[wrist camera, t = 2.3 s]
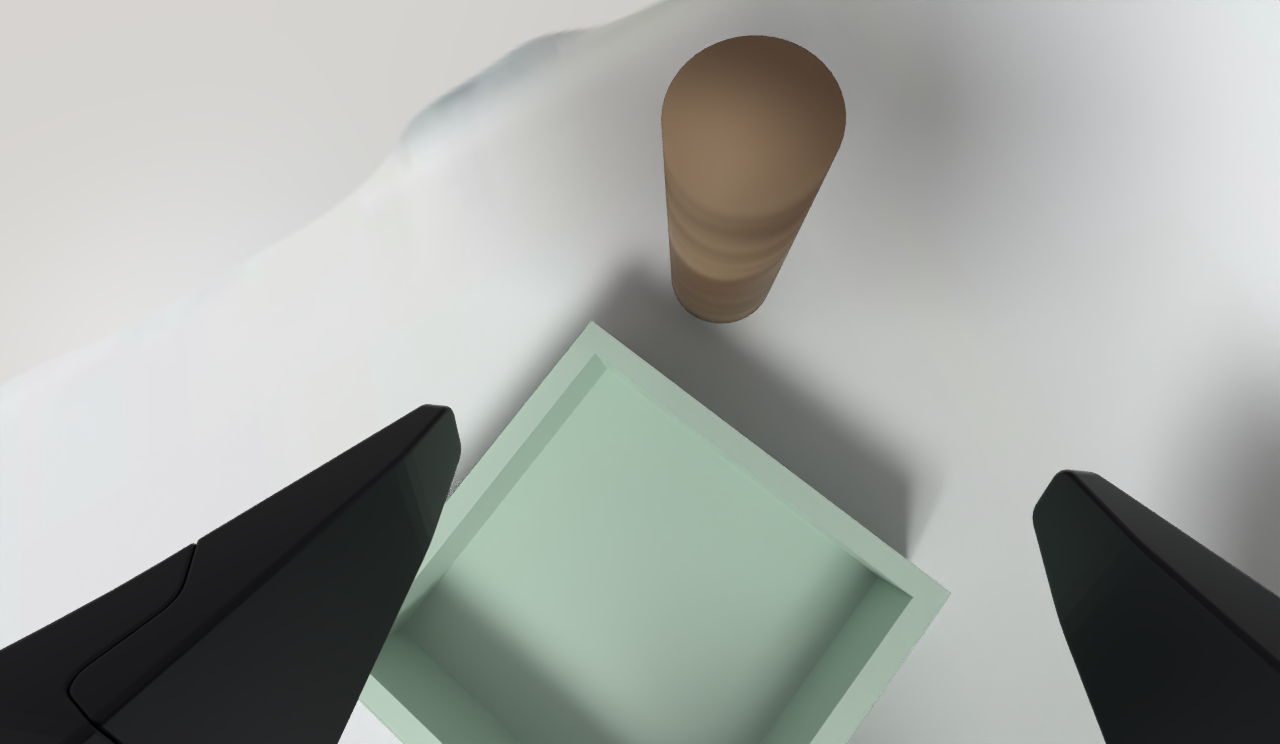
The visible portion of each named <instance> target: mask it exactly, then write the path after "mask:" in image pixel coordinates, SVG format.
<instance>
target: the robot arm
mask: <svg viewBox="0 0 1280 744" xmlns="http://www.w3.org/2000/svg"><path fill="white" fill-rule="evenodd" d="M460 454H461V443H460V439H459V434H458V430H457V425H456V421H455V417H454V413H453V411H452V409H451V408H450V407H448V406H442V405H432V404H425V405H422V406H420V407H418V408H417V409H415V410H413V411H412V412H410V413H408V414H407V415H405V416H403V417H402V418H400V419H398V420H397V421H395V422H393V423H392V424H390V425H388V426H387V427H385V428H383V429H382V430H380V431H378V432H377V433H375V434H373V435H372V436H370V437H368V438H367V439H365V440H363V441H362V442H360V443H358V444H357V445H355V446H353V447H352V448H350V449H348V450H347V451H345V452H343V453H342V454H340V455H338V456H337V457H335V458H333V459H332V460H330V461H328V462H327V463H325V464H323V465H322V466H320V467H318V468H317V469H315V470H313V471H312V472H310V473H309V474H307V475H305V476H304V477H302V478H300V479H299V480H297V481H295V482H294V483H292V484H290V485H289V486H287V487H285V488H284V489H282V490H280V491H279V492H277V493H275V494H274V495H272V496H270V497H269V498H267V499H265V500H264V501H262V502H260V503H259V504H257V505H255V506H254V507H252V508H250V509H249V510H247V511H245V512H244V513H242V514H240V515H239V516H237V517H235V518H234V519H232V520H230V521H229V522H227V523H225V524H224V525H222V526H220V527H219V528H217V529H215V530H214V531H212V532H210V533H209V534H207V535H205V536H204V537H202V538H200V539H199V540H198V542H197V544H194V543H193V544H190V545H188V546H187V547H185V548H183V549H182V550H180V551H178V552H177V553H175V554H173V555H172V556H170V557H168V558H167V559H165V560H163V561H162V562H160V563H158V564H157V565H155V566H153V567H151V568H150V569H148V570H146V571H144V572H143V573H141V574H139V575H138V576H136V577H134V578H132V579H131V580H129V581H127V582H125V583H124V584H122V585H120V586H119V587H117V588H115V589H113V590H112V591H110V592H108V593H106V594H104V595H102V596H101V597H99V598H97V599H95V600H93V601H91V602H90V603H88V604H86V605H84V606H82V607H80V608H79V609H77V610H75V611H73V612H71V613H69V614H67V615H66V616H64V617H62V618H60V619H58V620H56V621H55V622H53V623H51V624H49V625H47V626H45V627H43V628H41V629H39V630H38V631H36V632H34V633H32V634H30V635H28V636H26V637H24V638H22V639H20V640H19V641H17V642H15V643H13V644H11V645H9V646H7V647H5V648H3V649H2V650H0V744H338V741H339V739H340V737H341V735H342V733H343V731H344V729H345V727H346V724H347V722H348V720H349V718H350V716H351V714H352V712H353V709H354V707H355V705H356V703H357V701H358V699H359V697H360V694H361V692H362V690H363V688H364V686H365V684H366V682H367V680H368V677H369V675H370V673H371V671H372V669H373V667H374V665H375V662H376V660H377V658H378V656H379V654H380V652H381V650H382V647H383V645H384V643H385V641H386V639H387V637H388V635H389V633H390V630H391V628H392V626H393V624H394V622H395V620H396V618H397V615H398V613H399V611H400V609H401V607H402V605H403V603H404V601H405V598H406V596H407V594H408V592H409V590H410V588H411V586H412V583H413V581H414V579H415V577H416V575H417V573H418V571H419V568H420V566H421V564H422V562H423V560H424V558H425V555H426V553H427V551H428V549H429V546H430V544H431V541H432V539H433V536H434V533H435V530H436V528H437V525H438V522H439V519H440V516H441V513H442V510H443V507H444V504H445V501H446V498H447V495H448V492H449V489H450V486H451V483H452V480H453V477H454V474H455V471H456V468H457V465H458V462H459V459H460ZM1033 525H1034V529H1035V533H1036V537H1037V540H1038V544H1039V548H1040V552H1041V555H1042V559H1043V563H1044V567H1045V571H1046V574H1047V578H1048V582H1049V586H1050V589H1051V593H1052V597H1053V601H1054V605H1055V608H1056V611H1057V615H1058V618H1059V621H1060V624H1061V627H1062V630H1063V633H1064V636H1065V638H1066V641H1067V644H1068V646H1069V649H1070V652H1071V654H1072V657H1073V659H1074V662H1075V665H1076V667H1077V670H1078V672H1079V675H1080V678H1081V680H1082V683H1083V685H1084V688H1085V691H1086V693H1087V696H1088V698H1089V701H1090V703H1091V706H1092V709H1093V711H1094V714H1095V716H1096V719H1097V722H1098V724H1099V727H1100V729H1101V732H1102V735H1103V737H1104V740H1105V742H1106V744H1280V597H1278V596H1277V595H1276V594H1274V593H1273V592H1271V591H1270V590H1268V589H1267V588H1265V587H1264V586H1262V585H1261V584H1259V583H1258V582H1256V581H1255V580H1253V579H1252V578H1250V577H1249V576H1247V575H1246V574H1244V573H1243V572H1242V571H1240V570H1239V569H1237V568H1236V567H1234V566H1233V565H1231V564H1230V563H1228V562H1227V561H1225V560H1224V559H1222V558H1221V557H1219V556H1218V555H1216V554H1215V553H1213V552H1212V551H1210V550H1209V549H1208V548H1206V547H1205V546H1203V545H1202V544H1200V543H1199V542H1197V541H1196V540H1194V539H1193V538H1191V537H1190V536H1188V535H1187V534H1185V533H1184V532H1182V531H1181V530H1179V529H1178V528H1176V527H1175V526H1174V525H1172V524H1171V523H1169V522H1168V521H1166V520H1165V519H1163V518H1162V517H1160V516H1159V515H1157V514H1156V513H1154V512H1153V511H1151V510H1150V509H1148V508H1147V507H1145V506H1144V505H1143V504H1141V503H1140V502H1138V501H1137V500H1135V499H1134V498H1132V497H1131V496H1129V495H1128V494H1126V493H1125V492H1123V491H1122V490H1120V489H1119V488H1117V487H1116V486H1114V485H1113V484H1111V483H1110V482H1109V481H1107V480H1106V479H1104V478H1103V477H1101V476H1100V475H1098V474H1095V473H1092V472H1086V471H1076V470H1062V471H1060V472H1058V473H1057V474H1056V475H1055V476H1054V477H1053V479H1052V481H1051V482H1050V484H1049V485H1048V487H1047V488H1046V490H1045V491H1044V493H1043V494H1042V496H1041V497H1040V499H1039V501H1038V502H1037V504H1036V505H1035V507H1034V511H1033Z"/></svg>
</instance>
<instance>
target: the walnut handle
mask: <svg viewBox="0 0 1280 744" xmlns="http://www.w3.org/2000/svg"><path fill="white" fill-rule="evenodd" d="M661 125H662V140H663V155H664V170H665V185H666V201H667V216H668V231H669V246H670V261H671V276H672V285H673V289H674V292H675V294H676V296H677V298H678V300H679V302H680V303H681V304H682V306H683V307H684V308H685V309H686V310H687V311H689V312H690V313H691V314H693V315H694V316H696V317H698V318H700V319H702V320H705V321H708V322H713V323H730V322H735V321H738V320H741V319H743V318H745V317H747V316H749V315H750V314H752V313H753V312H754V311H755V310H757V309H758V308H759V307H760V305H761V304H762V303H763V301H764V300H765V298H766V296H767V294H768V292H769V290H770V288H771V286H772V284H773V282H774V280H775V278H776V276H777V274H778V272H779V270H780V268H781V266H782V264H783V262H784V260H785V258H786V256H787V254H788V252H789V250H790V248H791V246H792V243H793V241H794V239H795V237H796V235H797V233H798V231H799V229H800V227H801V225H802V223H803V221H804V219H805V217H806V215H807V213H808V211H809V209H810V207H811V205H812V203H813V201H814V199H815V197H816V195H817V193H818V191H819V189H820V186H821V184H822V182H823V180H824V178H825V176H826V174H827V172H828V170H829V168H830V166H831V164H832V162H833V160H834V158H835V156H836V154H837V152H838V150H839V148H840V145H841V142H842V139H843V136H844V131H845V125H846V111H845V103H844V99H843V96H842V92H841V90H840V87H839V85H838V83H837V81H836V79H835V78H834V76H833V75H832V73H831V72H830V70H829V69H828V68H827V67H826V66H825V64H824V63H823V62H822V61H820V60H819V59H818V58H817V57H816V56H815V55H813V54H812V53H811V52H809V51H808V50H806V49H804V48H802V47H801V46H799V45H797V44H794V43H792V42H789V41H787V40H783V39H779V38H775V37H768V36H742V37H736V38H731V39H727V40H724V41H721V42H718V43H716V44H714V45H712V46H710V47H707V48H706V49H704V50H702V51H701V52H699V53H698V54H696V55H695V56H694V57H693V58H691V59H690V60H689V61H688V62H687V63H686V64H685V65H684V66H683V67H682V68H681V69H680V70H679V72H678V73H677V75H676V76H675V77H674V79H673V80H672V82H671V84H670V86H669V88H668V90H667V93H666V96H665V98H664V103H663V107H662V116H661Z"/></svg>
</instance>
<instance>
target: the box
mask: <svg viewBox="0 0 1280 744" xmlns="http://www.w3.org/2000/svg"><path fill="white" fill-rule="evenodd" d="M950 594H951V592H949V591H948V590H947V589H945V588H944V587H943V586H941V585H940V584H939V583H937V582H936V581H935V580H933V579H932V578H931V577H929V576H928V575H927V574H925V573H924V572H923V571H922V570H920V569H919V568H918V567H916V566H915V565H914V564H912V563H911V562H910V561H908V560H907V559H906V558H904V557H903V556H902V555H900V554H899V553H898V552H896V551H895V550H894V549H892V548H891V547H890V546H889V545H887V544H886V543H885V542H883V541H882V540H881V539H879V538H878V537H877V536H875V535H874V534H873V533H871V532H870V531H869V530H867V529H866V528H865V527H863V526H862V525H861V524H859V523H858V522H857V521H856V520H854V519H853V518H852V517H850V516H849V515H848V514H846V513H845V512H844V511H842V510H841V509H840V508H838V507H837V506H836V505H834V504H833V503H832V502H830V501H829V500H828V499H827V498H825V497H824V496H823V495H821V494H820V493H819V492H817V491H816V490H815V489H813V488H812V487H811V486H809V485H808V484H807V483H805V482H804V481H803V480H801V479H800V478H799V477H797V476H796V475H795V474H794V473H792V472H791V471H790V470H788V469H787V468H786V467H784V466H783V465H782V464H780V463H779V462H778V461H776V460H775V459H774V458H772V457H771V456H770V455H768V454H767V453H766V452H764V451H763V450H762V449H761V448H759V447H758V446H757V445H755V444H754V443H753V442H751V441H750V440H749V439H747V438H746V437H745V436H743V435H742V434H741V433H739V432H738V431H737V430H735V429H734V428H733V427H731V426H730V425H729V424H728V423H726V422H725V421H724V420H722V419H721V418H720V417H718V416H717V415H716V414H714V413H713V412H712V411H710V410H709V409H708V408H706V407H705V406H704V405H702V404H701V403H700V402H698V401H697V400H696V399H695V398H693V397H692V396H691V395H689V394H688V393H687V392H685V391H684V390H683V389H681V388H680V387H679V386H677V385H676V384H675V383H673V382H672V381H671V380H669V379H668V378H667V377H665V376H664V375H663V374H662V373H660V372H659V371H658V370H656V369H655V368H654V367H652V366H651V365H650V364H648V363H647V362H646V361H644V360H643V359H642V358H640V357H639V356H638V355H636V354H635V353H634V352H632V351H631V350H630V349H629V348H627V347H626V346H625V345H623V344H622V343H621V342H619V341H618V340H617V339H615V338H614V337H613V336H611V335H610V334H609V333H607V332H606V331H605V330H603V329H602V328H601V327H599V326H598V325H597V324H596V323H594V322H593V321H591V322H590V323H589V324H588V326H587V327H586V328H585V329H584V331H583V332H582V333H581V334H580V336H579V337H578V338H577V339H576V341H575V342H574V343H573V344H572V346H571V347H570V348H569V349H568V351H567V352H566V353H565V354H564V356H563V357H562V358H561V359H560V361H559V362H558V363H557V364H556V366H555V367H554V368H553V369H552V371H551V372H550V373H549V374H548V376H547V377H546V378H545V379H544V381H543V382H542V383H541V384H540V386H539V387H538V388H537V389H536V391H535V392H534V393H533V394H532V396H531V397H530V398H529V399H528V401H527V402H526V403H525V404H524V406H523V407H522V408H521V409H520V411H519V412H518V413H517V414H516V416H515V417H514V418H513V419H512V421H511V422H510V423H509V424H508V426H507V427H506V428H505V429H504V431H503V432H502V433H501V434H500V436H499V437H498V438H497V439H496V441H495V442H494V443H493V444H492V446H491V447H490V448H489V449H488V451H487V452H486V453H485V454H484V456H483V457H482V458H481V459H480V461H479V462H478V463H477V464H476V465H475V467H474V468H473V469H472V470H471V472H470V473H469V474H468V475H467V477H466V478H465V479H464V480H463V482H462V483H461V484H460V485H459V487H458V488H457V489H456V490H455V492H454V493H453V494H452V495H451V497H450V498H449V499H448V500H447V502H446V503H445V504H444V507H443V510H442V513H441V516H440V519H439V522H438V525H437V528H436V530H435V533H434V536H433V539H432V541H431V544H430V546H429V549H428V551H427V553H426V555H425V558H424V560H423V562H422V564H421V566H420V568H419V571H418V573H417V575H416V577H415V579H414V581H413V583H412V586H411V588H410V590H409V592H408V594H407V596H406V598H405V601H404V603H403V605H402V607H401V609H400V611H399V613H398V615H397V618H396V620H395V622H394V624H393V626H392V628H391V630H390V633H389V635H388V637H387V639H386V641H385V643H384V645H383V647H382V650H381V652H380V654H379V656H378V658H377V660H376V662H375V665H374V667H373V669H372V671H371V673H370V675H369V677H368V680H367V682H366V684H365V686H364V688H363V690H362V692H361V694H360V697H359V699H358V700H359V701H360V702H361V703H362V704H363V705H364V706H365V707H366V708H368V709H369V710H370V711H371V712H372V713H373V714H374V715H375V716H376V717H377V718H378V719H379V720H380V721H381V722H382V723H383V724H384V725H385V726H386V727H387V728H388V729H389V730H390V731H391V732H392V733H393V734H394V735H395V736H396V737H397V738H398V739H399V740H400V741H401V742H402V743H403V744H846V743H847V742H848V740H849V739H850V738H851V736H852V735H853V733H854V732H855V730H856V729H857V728H858V726H859V725H860V723H861V722H862V720H863V719H864V718H865V716H866V715H867V713H868V712H869V710H870V709H871V707H872V706H873V705H874V703H875V702H876V700H877V699H878V697H879V696H880V695H881V693H882V692H883V690H884V689H885V687H886V686H887V685H888V683H889V682H890V680H891V679H892V677H893V676H894V675H895V673H896V672H897V670H898V669H899V667H900V666H901V665H902V663H903V662H904V660H905V659H906V657H907V656H908V655H909V653H910V652H911V650H912V649H913V647H914V646H915V645H916V643H917V642H918V640H919V639H920V637H921V636H922V635H923V633H924V632H925V630H926V629H927V627H928V626H929V624H930V623H931V622H932V620H933V619H934V617H935V616H936V614H937V613H938V612H939V610H940V609H941V607H942V606H943V604H944V603H945V602H946V600H947V599H948V597H949V596H950Z"/></svg>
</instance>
